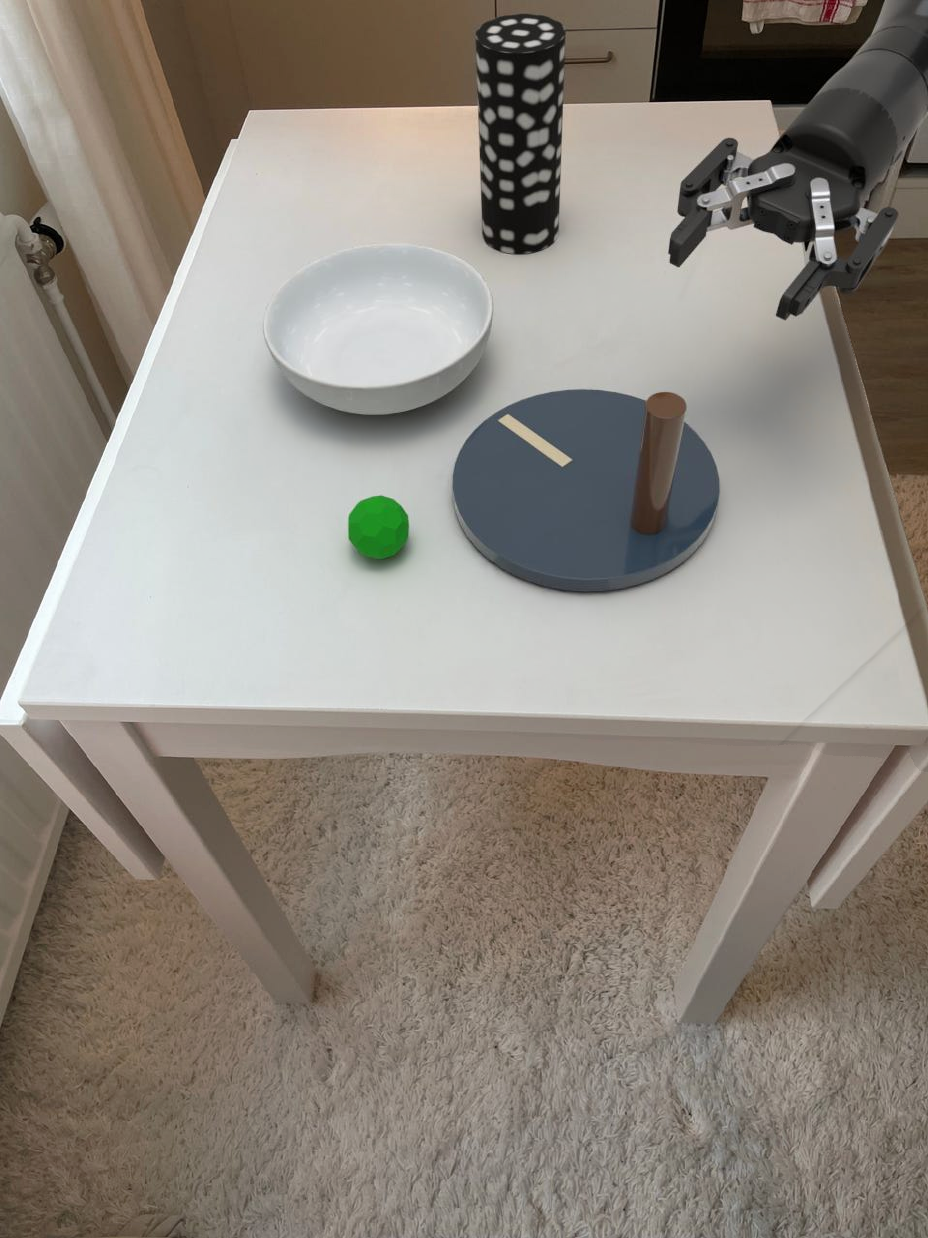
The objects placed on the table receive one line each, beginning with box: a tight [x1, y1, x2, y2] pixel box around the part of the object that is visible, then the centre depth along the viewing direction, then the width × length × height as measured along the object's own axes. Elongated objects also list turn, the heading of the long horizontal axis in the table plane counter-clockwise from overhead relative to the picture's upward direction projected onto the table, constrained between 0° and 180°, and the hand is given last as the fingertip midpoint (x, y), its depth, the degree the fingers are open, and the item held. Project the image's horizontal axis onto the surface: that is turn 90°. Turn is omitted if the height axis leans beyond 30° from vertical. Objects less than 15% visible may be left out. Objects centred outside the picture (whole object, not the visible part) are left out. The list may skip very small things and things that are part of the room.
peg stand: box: [452, 388, 721, 592], centre depth 75 cm, size 22×22×14 cm
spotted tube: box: [475, 13, 567, 255], centre depth 96 cm, size 8×8×20 cm
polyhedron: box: [347, 494, 410, 560], centre depth 76 cm, size 5×5×5 cm
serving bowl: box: [262, 242, 494, 416], centre depth 88 cm, size 21×21×7 cm
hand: (727, 283), depth 65 cm, fingers open, 8 cm apart
